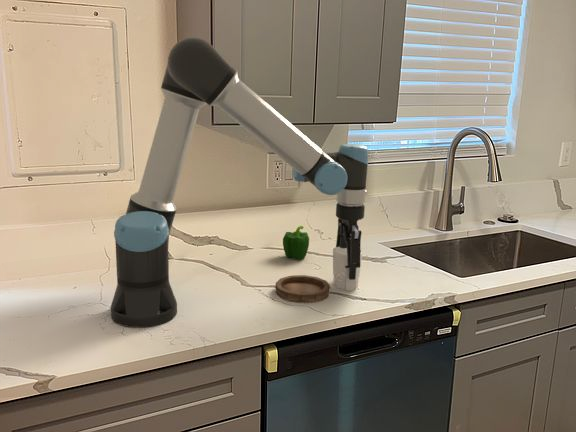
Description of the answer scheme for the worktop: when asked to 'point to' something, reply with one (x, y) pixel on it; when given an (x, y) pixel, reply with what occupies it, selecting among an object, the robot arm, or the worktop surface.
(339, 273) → the white cup
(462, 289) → the worktop surface
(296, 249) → the bell pepper
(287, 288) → the ring tray
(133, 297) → the robot arm
